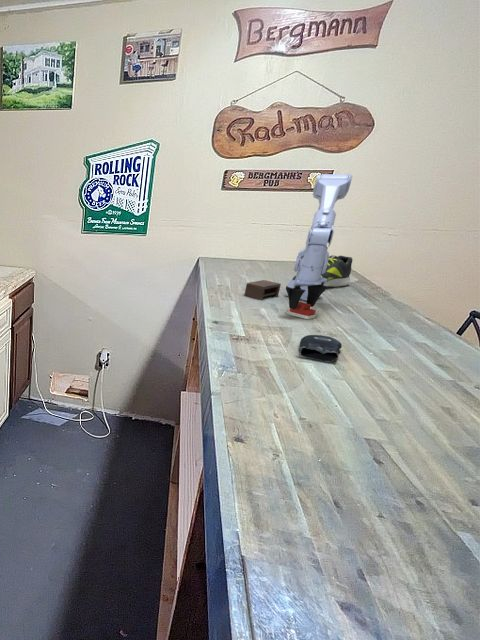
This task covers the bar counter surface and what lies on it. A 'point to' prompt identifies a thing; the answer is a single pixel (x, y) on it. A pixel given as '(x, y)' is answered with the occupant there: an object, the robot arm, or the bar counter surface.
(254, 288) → the box
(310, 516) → the bar counter surface
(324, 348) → the electronic device
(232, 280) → the bar counter surface
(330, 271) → the running shoe
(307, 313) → the shoe
